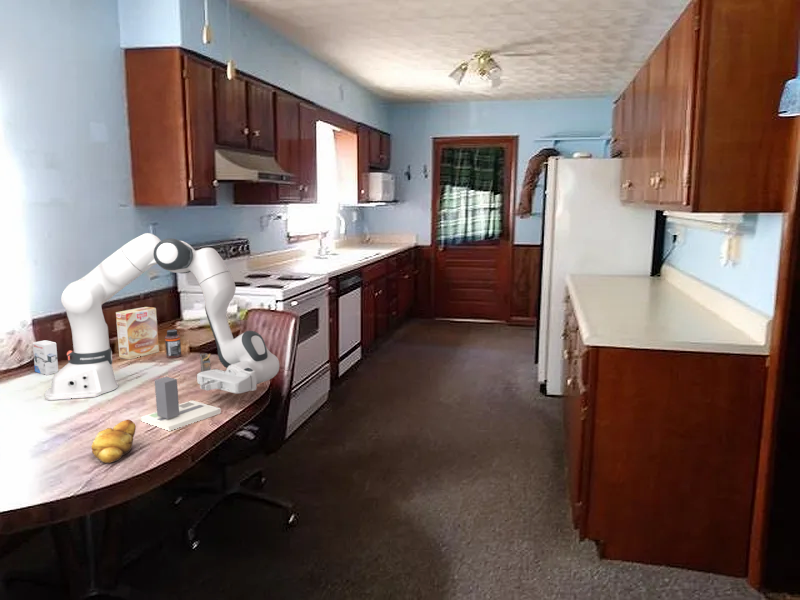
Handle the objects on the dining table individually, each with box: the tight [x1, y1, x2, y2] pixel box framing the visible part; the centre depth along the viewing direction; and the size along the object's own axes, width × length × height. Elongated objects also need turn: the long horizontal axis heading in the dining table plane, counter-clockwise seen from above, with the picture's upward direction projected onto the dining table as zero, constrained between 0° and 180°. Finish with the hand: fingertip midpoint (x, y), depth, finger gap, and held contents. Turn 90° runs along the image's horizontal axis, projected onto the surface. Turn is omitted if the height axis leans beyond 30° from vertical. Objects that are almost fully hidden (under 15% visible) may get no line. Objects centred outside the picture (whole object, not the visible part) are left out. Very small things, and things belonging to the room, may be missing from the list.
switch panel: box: [140, 399, 222, 432], centre depth 184 cm, size 18×14×2 cm
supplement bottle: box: [164, 329, 182, 359], centre depth 253 cm, size 6×6×11 cm
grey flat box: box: [199, 353, 212, 372], centre depth 226 cm, size 11×3×10 cm, turn 22°
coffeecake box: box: [115, 306, 160, 360], centre depth 256 cm, size 15×7×20 cm, turn 151°
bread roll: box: [90, 419, 137, 464], centre depth 156 cm, size 13×10×8 cm
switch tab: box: [154, 376, 180, 419], centre depth 179 cm, size 4×5×11 cm
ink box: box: [32, 339, 59, 376], centre depth 232 cm, size 9×5×12 cm, turn 58°
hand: (203, 387), depth 189 cm, fingers closed
